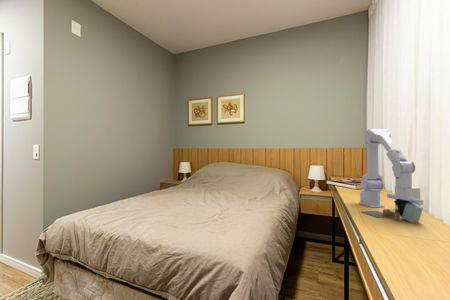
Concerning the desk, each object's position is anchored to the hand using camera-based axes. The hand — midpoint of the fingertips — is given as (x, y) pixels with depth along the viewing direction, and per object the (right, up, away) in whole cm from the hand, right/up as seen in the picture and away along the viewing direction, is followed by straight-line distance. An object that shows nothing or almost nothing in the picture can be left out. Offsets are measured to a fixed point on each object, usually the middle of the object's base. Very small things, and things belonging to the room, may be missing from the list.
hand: (404, 216), depth 94 cm
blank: (0, 0, -3) cm, 3 cm away
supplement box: (+13, -1, +13) cm, 18 cm away
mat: (-7, -1, +7) cm, 10 cm away
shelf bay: (0, -1, +2) cm, 2 cm away
